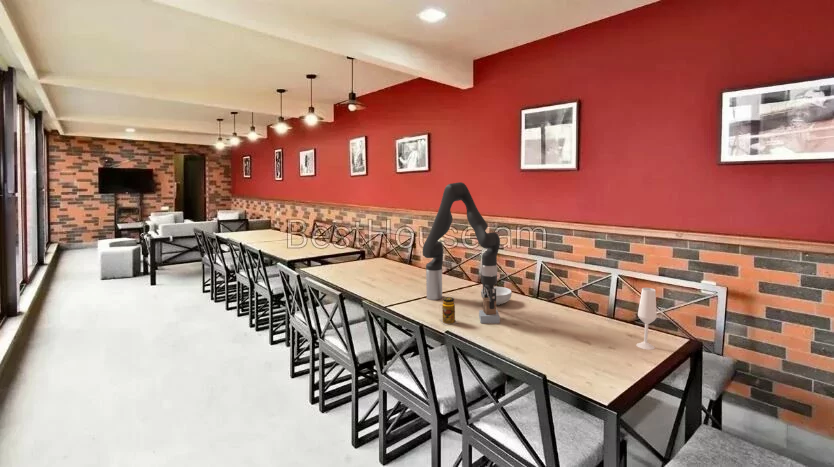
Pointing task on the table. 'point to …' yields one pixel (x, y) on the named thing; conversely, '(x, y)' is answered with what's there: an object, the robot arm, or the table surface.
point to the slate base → (489, 317)
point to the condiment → (448, 311)
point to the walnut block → (486, 307)
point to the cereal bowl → (501, 295)
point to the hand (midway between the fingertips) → (489, 306)
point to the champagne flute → (647, 313)
